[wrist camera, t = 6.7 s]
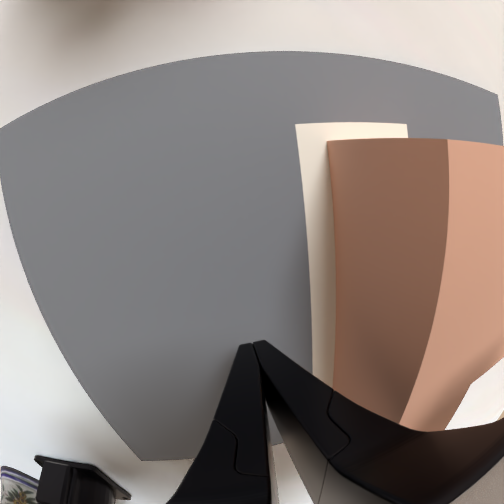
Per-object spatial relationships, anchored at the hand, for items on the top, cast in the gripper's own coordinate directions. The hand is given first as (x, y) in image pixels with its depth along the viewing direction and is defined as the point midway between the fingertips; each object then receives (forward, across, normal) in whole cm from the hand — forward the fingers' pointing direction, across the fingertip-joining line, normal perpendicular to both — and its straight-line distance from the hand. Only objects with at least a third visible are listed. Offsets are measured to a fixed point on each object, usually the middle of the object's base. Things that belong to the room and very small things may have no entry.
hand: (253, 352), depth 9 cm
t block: (+1, -9, 0) cm, 9 cm away
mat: (+2, -4, 0) cm, 4 cm away
